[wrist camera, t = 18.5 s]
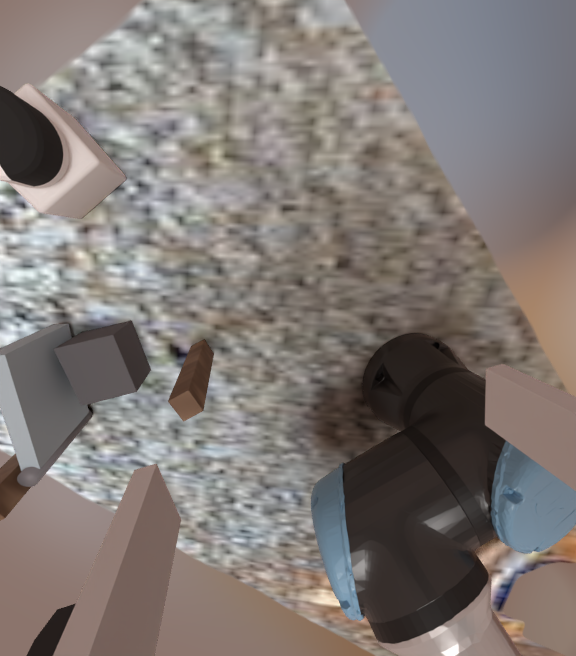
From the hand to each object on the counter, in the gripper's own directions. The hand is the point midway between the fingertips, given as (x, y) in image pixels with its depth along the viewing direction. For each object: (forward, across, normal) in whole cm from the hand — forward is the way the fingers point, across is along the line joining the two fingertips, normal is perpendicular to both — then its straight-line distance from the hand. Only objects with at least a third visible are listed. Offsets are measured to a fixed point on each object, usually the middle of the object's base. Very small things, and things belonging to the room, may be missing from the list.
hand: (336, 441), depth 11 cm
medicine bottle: (+29, +16, -18) cm, 38 cm away
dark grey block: (+29, +20, +2) cm, 35 cm away
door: (+28, +26, +3) cm, 39 cm away
